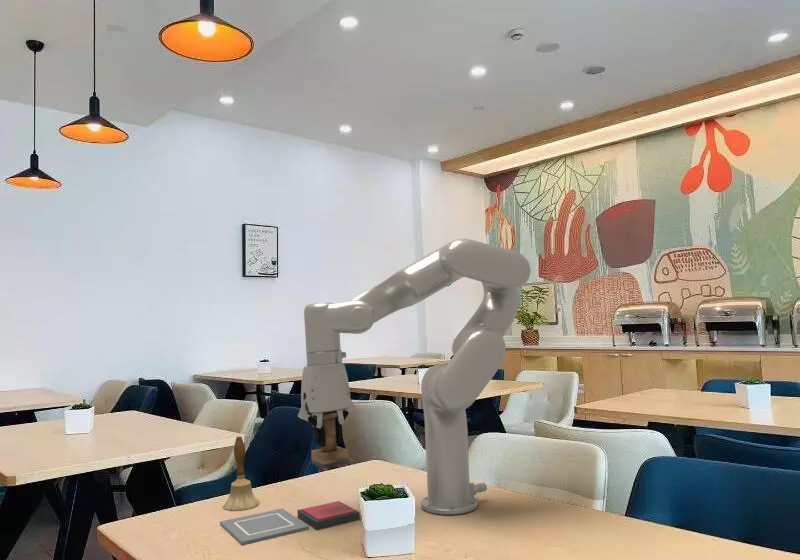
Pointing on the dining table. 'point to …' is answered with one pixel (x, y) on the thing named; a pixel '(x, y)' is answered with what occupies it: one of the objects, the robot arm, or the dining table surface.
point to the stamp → (330, 445)
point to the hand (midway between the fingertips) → (329, 443)
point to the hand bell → (240, 484)
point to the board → (263, 526)
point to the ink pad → (328, 515)
